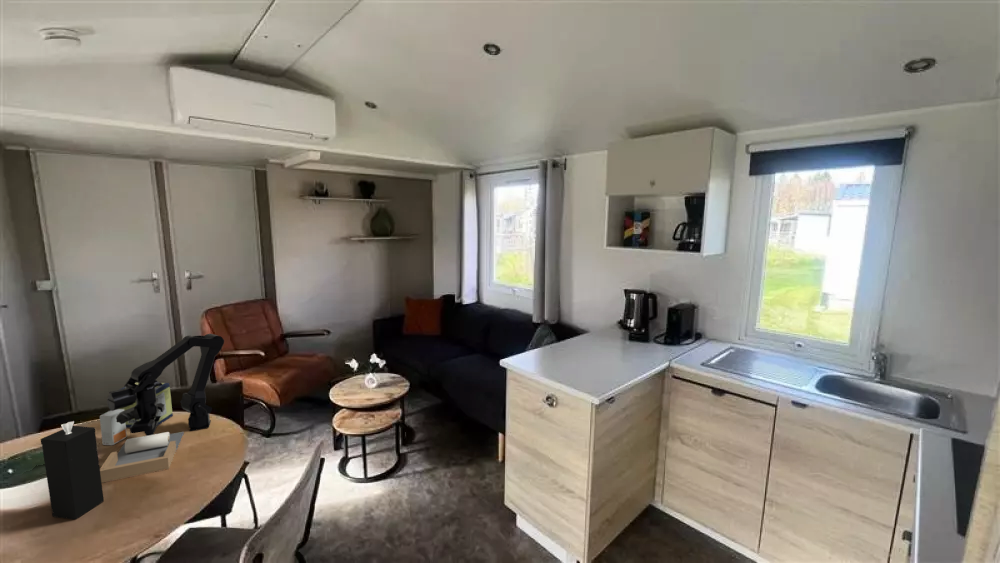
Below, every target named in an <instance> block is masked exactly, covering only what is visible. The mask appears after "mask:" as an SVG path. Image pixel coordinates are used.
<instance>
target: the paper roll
mask: <svg viewBox="0 0 1000 563" xmlns="http://www.w3.org/2000/svg"><path fill="white" fill-rule="evenodd" d="M170 434H171V433H170V432H169V431H166V432H161V433H154V435H148V436H146V435H143V436H138V437H137V436H136V437H132V438H131V437H130V438H126V440H125V442H124V443H125V452H126V453H131V452H137V451H142V450H147V449H153V448H158V447H164V446H168V445H169V443H170Z"/></svg>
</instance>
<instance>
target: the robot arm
mask: <svg viewBox="0 0 1000 563" xmlns="http://www.w3.org/2000/svg"><path fill="white" fill-rule="evenodd" d="M224 344H225V339H224V337H222V336H221V335H217V334H215V333H214V334H213V333H207V334H205V335H186V336H184V337H183V338H182V339H181V340H180V341H178V342H177V343H176V344H174V345H172V346H171V347H170V348H169V349H167V350H166V351H165V352H163V353H162V354H161V355H159V356H157V357H155V359H153V360H150V361H148V362H144V363H143V364H142V365H139V366H137V367H136V368H133V370H132V371H131V373H130V374H131V375H130V377H129V378H128V380H127V381H126V383H125V384H124V387H126V388H123V387H122V388H123V389H121V388H119V389H120V390H119V389H117V390H116V389H115V390H111V391H108V393H109V394H108V396H107V399H106V405H107V407H108V409H109V411H114V410H117V409H120V408H124V407H127V406H130V405H133V404H134V403H136V406H135V407H132V408H130V409H127V410H125V411H122V412H121V413H119V414H118V416H117V417H116V419H117V421H116V422H119V423H120V424H124V423H125V422H127V421H129V420H132V419H134V418H135V420H139V419H141V420H140V421H136V422H135V423H133V425H132V426H131V427H130V428H129V433H130V434H137V433H143V432H144V434H145V436H148V435H154V434H155V432H156V430H157V427H158V426H159V425H158V422H159V420H160V417H161V416H156V415H157V414H158V412H159V410H160V411H161V412H163V411H164V409H165V407H164V404H162V403H158V404H157V402H158V399H156V389H155V387H157V386H161V385H162V383H163V382H159V381H158V380H157V379H158V378H160V376H161V375H162V373H163V372H164V371H165V369H166V368H167V367H168V366H169V365H171V364H172V363H174V362H175V361H176V360H178V359H179V358H181V356H183V355H184V354H185V353H187V352H188V351H189V350H191V349H193V348H194V347H199V350H200V358H199V361H198V365H197V369H196V370H195V371H196V372H195V374H194V378H193V381H192V383H191V384H192V385H191V388H190V390H189V391H187V392H183V393H182V398H181V400H179V403H181V404H180V407H181V409H182V410H184V411H186V412H187V413H189V416H188V419H187V422H188V428H189V432H193V431H198V430H203V429H208V428H210V425H211V423H212V420H211V419H210V418H211V417H210V414H211V413H212V410H213V407H212V406H210V405H208V404H206V402H207V401H206V400H207V396H206V390H205V389H206V388H207V385H208V381H209V377H210V374H211V370H212V367H213V364H214V361H215V357H216V356H217V355H218V354H219V353H220V352H221V351H222V349H223V346H224ZM135 383H138V385H137V384H135ZM157 425H158V426H157Z"/></svg>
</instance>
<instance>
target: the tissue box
mask: <svg viewBox="0 0 1000 563" xmlns="http://www.w3.org/2000/svg"><path fill="white" fill-rule="evenodd" d="M74 423H75V421H74V420H73V421H68V422H67V423H63V424H60V425H61V428H62V429H61V430H59V431H56V432H54V433H51V434H49V435H47V436H43V437H42V438H40V444H41V447H42V453H43V459H44V460H43V461H44V469H45V474H46V481H47V487H48V493H49V494H48V495H49V500H50V508H51V514H52V515H51V516H52V518H53V517H54V518H62V519H70V520H77V519H79V518H80V517H82V516H83V515H85V514H86V513H88V512H89V511H91V510H93V509H94V508H96V507H97V506H99V505H101V504H102V503H103V502H104V501H105V500H104V492H103V491H104V490H103V485H102V484H103V483H101V475H100V468H101V467H100V460H99V452H98V446H97V443H98V442H97V436H96V427H93V426H83V425H74Z"/></svg>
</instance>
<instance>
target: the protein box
mask: <svg viewBox="0 0 1000 563" xmlns="http://www.w3.org/2000/svg"><path fill="white" fill-rule="evenodd" d="M161 383H162V385H161V386H157V387H155V389H156V399H158V402H157V404H158V403H162V404H164V407H165V409H164V411H163V412H161V411H160V410H159V412H158V414H157V415H156V416H161V417H160V420H159V422H158V425H157V427H158V426H159V425H161V424H162V422H163V423H164V422H166V421H167V420H169V419H170V418H172V417H174V413H173V408H172V407H173V406H172V396H171V386H170V383H169V382H161ZM135 384H137V385H138V382H136V383H135ZM123 388H126V387H122V388H119V389H118V390H120V389H123ZM135 406H136V403H134V404H133V405H130V406H127V407H124V408H120V409H124V411H125V410H127V409H130V408H132V407H135ZM140 420H141V419H139V420H135V418H134V419H132V420H129V421H127V422H126V429H127V428H129V429H130V427H131V426H132V425H133V423H135V422H136V421H140Z"/></svg>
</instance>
